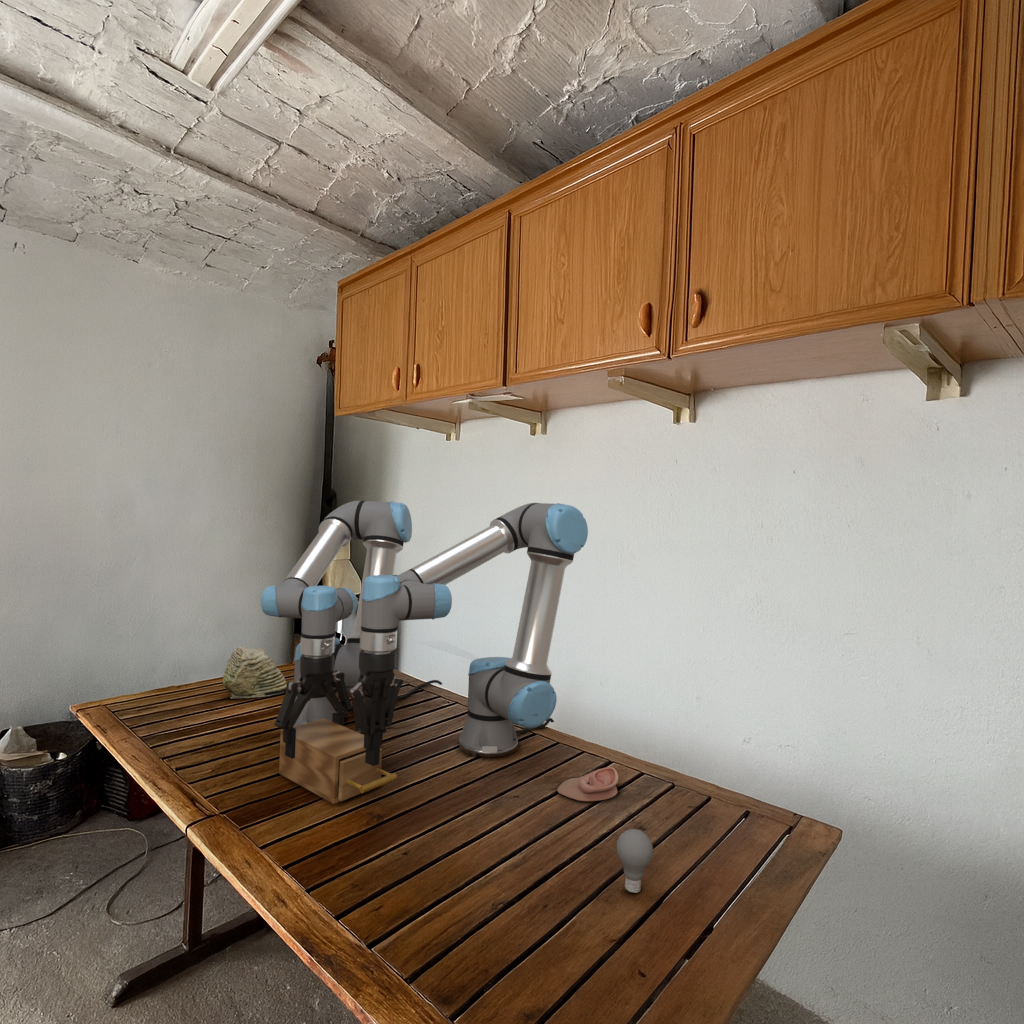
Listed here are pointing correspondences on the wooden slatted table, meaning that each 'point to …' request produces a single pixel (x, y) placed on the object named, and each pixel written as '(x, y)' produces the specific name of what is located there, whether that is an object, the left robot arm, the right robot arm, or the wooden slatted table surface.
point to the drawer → (360, 776)
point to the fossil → (252, 674)
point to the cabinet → (319, 756)
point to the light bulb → (634, 857)
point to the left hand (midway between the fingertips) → (313, 748)
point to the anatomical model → (591, 785)
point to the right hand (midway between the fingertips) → (372, 763)
